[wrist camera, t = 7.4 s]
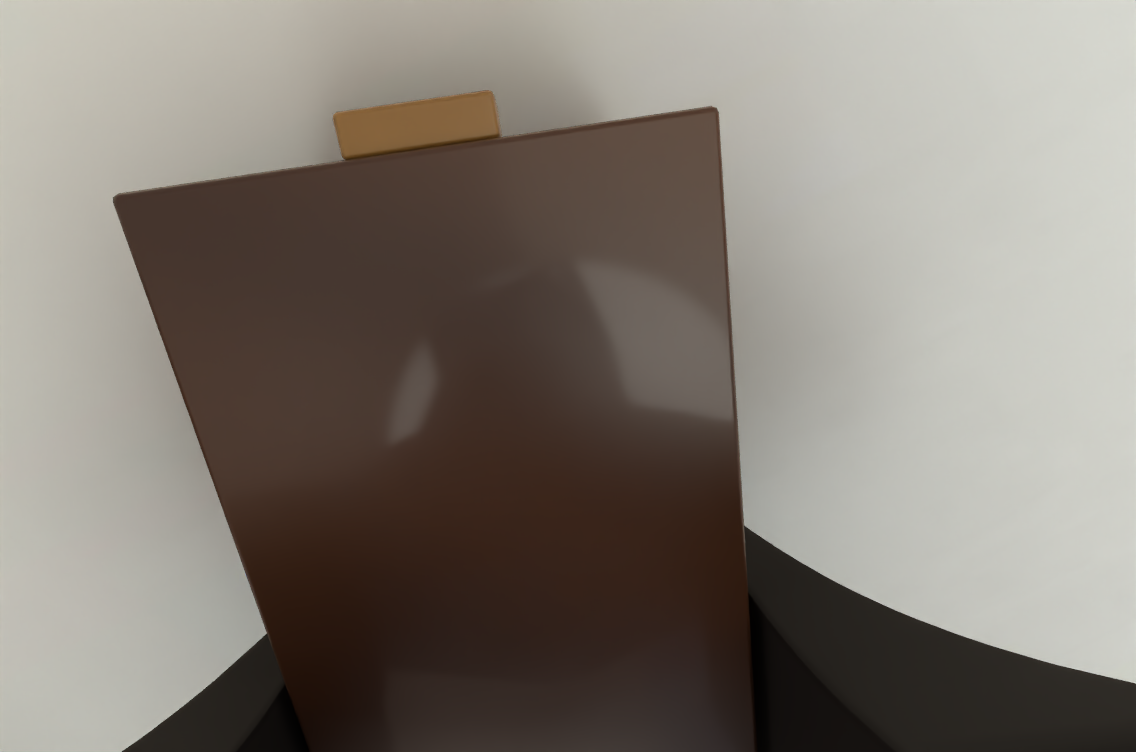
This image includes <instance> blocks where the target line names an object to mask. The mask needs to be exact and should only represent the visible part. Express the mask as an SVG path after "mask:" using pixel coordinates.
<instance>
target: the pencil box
mask: <svg viewBox="0 0 1136 752" xmlns="http://www.w3.org/2000/svg"><path fill="white" fill-rule="evenodd" d="M333 122H334V126H335V130H336V135H337V139H338V143H339V147H340V151H341V155H342V157H343V158H344V160H343V161H336V162H329V163H322V164H316V165H309V166H302V167H295V168H288V169H282V170H275V171H268V172H261V173H255V174H248V175H241V176H234V177H227V178H221V179H214V180H207V181H200V182H194V183H187V184H180V185H173V186H166V187H160V188H153V189H146V190H139V191H133V192H126V193H119V194H117V195H116V196H114V197H113V203H114V206H115V209H116V212H117V214H118V217H119V220H120V223H121V226H122V228H123V231H124V234H125V237H126V240H127V242H128V245H129V248H130V251H131V254H132V256H133V259H134V262H135V265H136V268H137V270H138V273H139V276H140V279H141V282H142V284H143V287H144V290H145V293H146V296H147V298H148V301H149V304H150V307H151V310H152V312H153V315H154V318H155V321H156V324H157V326H158V329H159V332H160V335H161V338H162V340H163V343H164V346H165V349H166V352H167V354H168V357H169V360H170V363H171V366H172V368H173V371H174V374H175V377H176V380H177V382H178V385H179V388H180V391H181V394H182V396H183V399H184V402H185V405H186V408H187V410H188V413H189V416H190V419H191V422H192V424H193V427H194V430H195V433H196V436H197V438H198V441H199V444H200V447H201V450H202V452H203V455H204V458H205V461H206V464H207V466H208V469H209V472H210V475H211V478H212V480H213V483H214V486H215V489H216V492H217V494H218V497H219V500H220V503H221V506H222V508H223V511H224V514H225V517H226V520H227V522H228V525H229V528H230V531H231V534H232V536H233V539H234V542H235V545H236V548H237V550H238V553H239V556H240V559H241V562H242V564H243V567H244V570H245V573H246V576H247V578H248V581H249V584H250V587H251V590H252V592H253V595H254V598H255V601H256V604H257V606H258V609H259V612H260V615H261V618H262V620H263V623H264V626H265V629H266V632H267V634H268V637H269V640H270V643H271V646H272V648H273V651H274V654H275V657H276V660H277V662H278V665H279V668H280V671H281V674H282V676H283V679H284V682H285V685H286V688H287V690H288V693H289V696H290V699H291V702H292V704H293V707H294V710H295V713H296V716H297V718H298V721H299V724H300V727H301V730H302V732H303V735H304V738H305V741H306V744H307V746H308V749H309V752H758V748H757V731H756V715H755V698H754V682H753V666H752V649H751V633H750V616H749V600H748V584H747V567H746V551H745V534H744V518H743V502H742V485H741V469H740V452H739V436H738V419H737V403H736V387H735V370H734V354H733V337H732V321H731V305H730V288H729V272H728V255H727V239H726V223H725V206H724V190H723V173H722V157H721V141H720V124H719V112H718V110H717V108H716V107H712V106H709V107H702V108H695V109H689V110H682V111H675V112H668V113H661V114H655V115H648V116H641V117H634V118H628V119H621V120H614V121H607V122H600V123H594V124H587V125H580V126H573V127H566V128H560V129H553V130H546V131H539V132H533V133H526V134H519V135H512V136H505V137H502V131H501V125H500V119H499V113H498V107H497V104H496V100H495V97H494V94H493V93H492V91H489V90H485V91H478V92H471V93H464V94H457V95H451V96H444V97H437V98H430V99H423V100H416V101H409V102H402V103H395V104H389V105H382V106H375V107H368V108H361V109H354V110H347V111H340V112H336V113H335V114H333Z"/></svg>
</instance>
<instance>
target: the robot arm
mask: <svg viewBox="0 0 1136 752" xmlns="http://www.w3.org/2000/svg"><path fill="white" fill-rule="evenodd" d="M744 534H745V551H746V567H747V584H748V600H749V616H750V633H751V649H752V666H753V682H754V698H755V715H756V731H757V748H758V752H1136V684H1135V683H1131V682H1127V681H1122V680H1118V679H1114V678H1110V677H1105V676H1101V675H1097V674H1092V673H1088V672H1084V671H1080V670H1075V669H1071V668H1067V667H1063V666H1058V665H1055V664H1051V663H1047V662H1044V661H1040V660H1037V659H1033V658H1030V657H1027V656H1023V655H1020V654H1017V653H1013V652H1010V651H1006V650H1003V649H1000V648H996V647H993V646H990V645H987V644H984V643H981V642H978V641H975V640H972V639H969V638H966V637H963V636H960V635H957V634H954V633H952V632H949V631H946V630H944V629H941V628H938V627H936V626H933V625H931V624H928V623H925V622H923V621H920V620H917V619H915V618H912V617H910V616H907V615H905V614H903V613H900V612H898V611H895V610H893V609H891V608H888V607H886V606H884V605H882V604H880V603H878V602H875V601H873V600H871V599H869V598H867V597H865V596H863V595H860V594H858V593H856V592H854V591H852V590H850V589H848V588H846V587H844V586H842V585H840V584H838V583H836V582H834V581H832V580H831V579H829V578H827V577H825V576H824V575H822V574H820V573H818V572H816V571H815V570H813V569H811V568H809V567H808V566H806V565H804V564H802V563H801V562H799V561H797V560H796V559H794V558H792V557H791V556H789V555H788V554H786V553H784V552H783V551H781V550H780V549H778V548H776V547H775V546H773V545H772V544H770V543H769V542H767V541H766V540H764V539H763V538H761V537H760V536H758V535H757V534H755V533H754V532H752V531H751V530H750V529H748V528H747V527H745V526H744ZM122 752H309V749H308V746H307V744H306V741H305V738H304V735H303V732H302V730H301V727H300V724H299V721H298V718H297V716H296V713H295V710H294V707H293V704H292V702H291V699H290V696H289V693H288V690H287V688H286V685H285V682H284V679H283V676H282V674H281V671H280V668H279V665H278V662H277V660H276V657H275V654H274V651H273V648H272V646H271V643H270V640H269V637H268V634H266V635H265V636H264V637H263V638H262V639H261V640H259V641H258V642H257V643H256V644H255V645H254V646H253V647H252V648H250V649H249V650H248V651H247V652H246V653H245V654H244V655H243V656H242V657H240V658H239V659H238V660H237V661H236V662H235V663H234V664H233V665H231V666H230V667H229V668H228V669H227V670H226V671H225V672H224V673H223V674H221V675H220V676H219V677H218V678H217V679H216V680H215V681H213V682H212V683H211V684H210V685H209V686H208V687H206V688H205V689H204V690H203V691H202V692H200V693H199V694H198V695H197V696H195V697H194V698H193V699H192V700H190V701H189V702H188V703H187V704H186V705H184V706H183V707H182V708H180V709H179V710H178V711H176V712H175V713H174V714H173V715H171V716H170V717H169V718H167V719H166V720H165V721H163V722H162V723H161V724H159V725H158V726H157V727H156V728H154V729H153V730H152V731H150V732H149V733H148V734H146V735H145V736H143V737H142V738H141V739H139V740H138V741H137V742H135V743H134V744H132V745H131V746H129V747H128V748H126V749H125V750H123V751H122Z"/></svg>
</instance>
